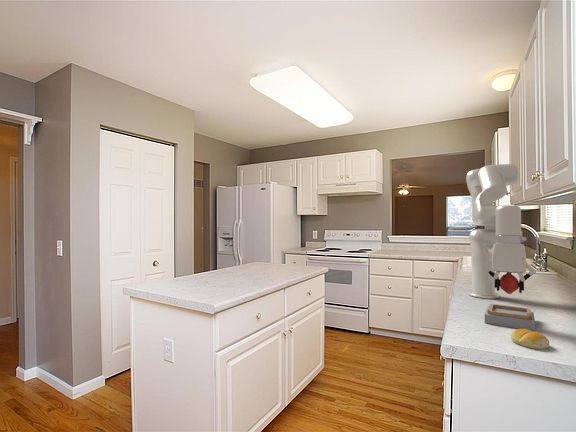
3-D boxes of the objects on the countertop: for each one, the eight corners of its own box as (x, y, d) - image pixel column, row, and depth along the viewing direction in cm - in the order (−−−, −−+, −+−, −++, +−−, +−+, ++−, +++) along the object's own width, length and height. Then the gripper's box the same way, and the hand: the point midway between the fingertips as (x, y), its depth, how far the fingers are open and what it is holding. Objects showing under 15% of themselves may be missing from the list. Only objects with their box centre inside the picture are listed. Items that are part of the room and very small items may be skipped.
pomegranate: (504, 295, 112) (503, 272, 113) (496, 292, 118) (495, 270, 118) (522, 296, 112) (522, 272, 112) (513, 292, 117) (513, 270, 117)
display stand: (487, 313, 125) (487, 302, 125) (533, 320, 116) (533, 308, 116) (484, 323, 113) (484, 311, 113) (535, 330, 105) (534, 317, 105)
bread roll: (525, 337, 100) (525, 324, 100) (555, 348, 91) (555, 334, 91) (503, 339, 98) (503, 326, 98) (530, 351, 89) (530, 336, 89)
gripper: (538, 240, 113) (539, 292, 113) (481, 239, 123) (481, 286, 123) (539, 241, 107) (540, 296, 107) (479, 239, 117) (479, 290, 117)
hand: (509, 290), depth 115 cm, fingers closed on pomegranate, 5 cm apart
